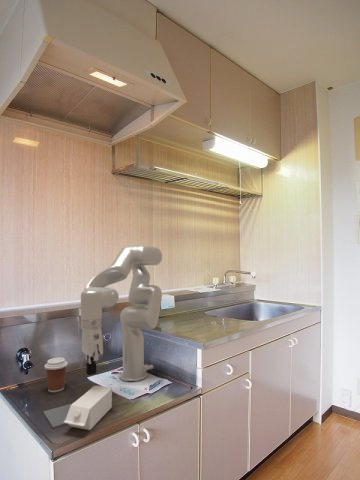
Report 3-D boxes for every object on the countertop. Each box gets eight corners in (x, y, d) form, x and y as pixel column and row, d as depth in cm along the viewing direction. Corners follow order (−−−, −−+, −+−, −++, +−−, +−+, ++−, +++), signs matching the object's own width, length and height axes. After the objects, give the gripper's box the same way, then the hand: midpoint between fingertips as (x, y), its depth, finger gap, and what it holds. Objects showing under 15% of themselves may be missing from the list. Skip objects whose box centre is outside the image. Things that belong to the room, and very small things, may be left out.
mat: (89, 399, 126) (89, 398, 126) (102, 412, 116) (102, 411, 116) (43, 412, 116) (43, 411, 116) (53, 428, 106) (53, 426, 106)
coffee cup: (47, 395, 131) (47, 365, 131) (42, 388, 138) (42, 359, 138) (70, 389, 136) (70, 360, 136) (64, 382, 143) (64, 355, 144)
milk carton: (112, 407, 119) (82, 437, 101) (94, 404, 121) (63, 433, 103) (112, 387, 119) (83, 414, 101) (95, 385, 121) (63, 411, 102)
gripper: (109, 325, 118) (109, 377, 117) (93, 319, 130) (93, 366, 129) (88, 328, 113) (88, 382, 112) (74, 321, 125) (74, 370, 124)
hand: (91, 373), depth 121 cm, fingers closed
